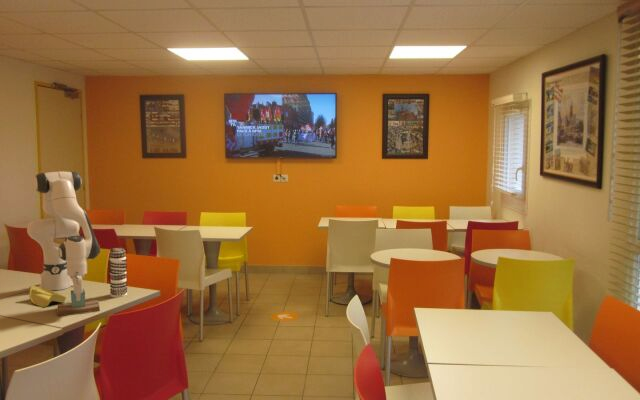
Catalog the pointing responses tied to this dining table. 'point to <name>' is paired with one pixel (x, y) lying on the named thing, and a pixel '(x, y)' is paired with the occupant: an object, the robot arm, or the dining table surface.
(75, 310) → the stub plate
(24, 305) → the dining table surface
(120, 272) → the brown white cylinder
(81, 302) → the housing cap
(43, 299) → the plastic component
